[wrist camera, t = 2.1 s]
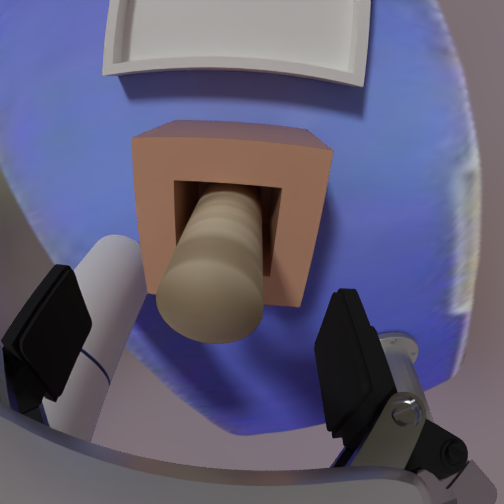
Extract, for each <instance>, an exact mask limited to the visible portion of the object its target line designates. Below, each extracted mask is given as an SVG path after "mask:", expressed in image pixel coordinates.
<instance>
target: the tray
mask: <svg viewBox="0 0 504 504" xmlns="http://www.w3.org/2000/svg"><path fill="white" fill-rule="evenodd" d="M370 5H371V0H110V4H109V11H108V18H107V25H106V34H105V44H104V56H103V73H102V76H121V75H129V74H138V73H148V72H161V71H180V70H228V71H247V72H260V73H271V74H280V75H288V76H295V77H302V78H309V79H315V80H320V81H326V82H331V83H336V84H340V85H345V86H349V87H363V85H364V77H365V69H366V59H367V49H368V37H369V24H370Z"/></svg>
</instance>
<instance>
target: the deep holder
mask: <svg viewBox="0 0 504 504" xmlns="http://www.w3.org/2000/svg"><path fill="white" fill-rule="evenodd" d="M132 156H133V175H134V190H135V202H136V212H137V222H138V231H139V239H140V247H141V254H142V261H143V267H144V274H145V280H146V286H147V291H148V293H149V294H156V293H157V289H158V286H159V284H160V282H161V279H162V277H163V275H164V273H165V270H166V268H167V266H168V264H169V262H170V259H171V257H172V255H173V253H174V251H175V249H176V246H177V244H178V242H179V240H180V238H181V236H182V234H183V232H184V230H185V227H186V225H187V223H188V221H189V219H190V217H191V215H192V213H193V211H194V209H195V207H196V205H197V203H198V201H199V199H200V197H201V195H202V193H203V191H204V189H205V188H206V186H207V184H208V182H218V183H232V184H245V185H257V186H261V204H262V252H263V305H275V306H291V307H300V305H301V301H302V297H303V293H304V289H305V285H306V281H307V277H308V273H309V269H310V265H311V260H312V256H313V252H314V247H315V243H316V238H317V234H318V229H319V224H320V219H321V215H322V210H323V205H324V200H325V195H326V189H327V184H328V179H329V173H330V168H331V162H332V156H333V150H332V149H331V148H330V147H328V146H327V145H326V144H325V143H323V142H322V141H321V140H320V139H319V138H317V137H316V136H315V135H314V134H312V133H311V132H310V131H309V130H307V129H300V128H293V127H285V126H276V125H266V124H256V123H243V122H227V121H200V120H174V121H171V122H169V123H166V124H164V125H161V126H159V127H156V128H154V129H151V130H149V131H147V132H144V133H142V134H140V135H137V136H135V137H133V138H132Z"/></svg>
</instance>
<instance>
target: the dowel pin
mask: <svg viewBox="0 0 504 504" xmlns="http://www.w3.org/2000/svg"><path fill="white" fill-rule="evenodd" d="M156 304H157V308H158V310H159V313H160V314H161V316H162V318H163V319H164V320H165V322H166V323H167V324H168V325H169V326H170V327H171V328H172V329H174V330H175V331H176V332H178V333H179V334H181V335H183V336H185V337H187V338H189V339H192V340H195V341H198V342H203V343H209V344H224V343H230V342H235V341H238V340H240V339H242V338H245V337H246V336H248V335H249V334H251V333H252V332H253V331H254V330H255V329H256V328H257V327H258V325H259V324H260V322H261V319H262V316H263V252H262V204H261V186H257V185H245V184H232V183H218V182H208V184H207V186H206V188H205V189H204V191H203V193H202V195H201V197H200V199H199V201H198V203H197V205H196V207H195V209H194V211H193V213H192V215H191V217H190V219H189V221H188V223H187V225H186V227H185V230H184V232H183V234H182V236H181V238H180V240H179V242H178V244H177V246H176V249H175V251H174V253H173V255H172V257H171V259H170V262H169V264H168V266H167V268H166V270H165V273H164V275H163V277H162V279H161V282H160V284H159V286H158V289H157V293H156Z"/></svg>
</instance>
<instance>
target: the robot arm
mask: <svg viewBox="0 0 504 504" xmlns="http://www.w3.org/2000/svg"><path fill="white" fill-rule="evenodd" d="M91 328H92V320H91V317H90V314H89V312H88V309H87V307H86V304H85V301H84V299H83V296H82V293H81V290H80V287H79V284H78V281H77V278H76V275H75V272H74V271H73V270H72V269H71V267H70V266H67V265H60V264H56V265H55V266H54V267H53V268H52V269H51V270H50V272H49V273H48V274H47V276H46V277H45V278H44V279H43V281H42V282H41V283H40V285H39V286H38V287H37V289H36V290H35V291H34V293H33V294H32V295H31V297H30V298H29V299H28V301H27V302H26V304H25V305H24V306H23V308H22V309H21V311H20V312H19V314H18V315H17V317H16V318H15V320H14V321H13V323H12V324H11V326H10V327H9V329H8V330H7V332H6V333H5V335H4V337H3V338H2V340H1V341H2V343H3V345H4V346H3V348H1V346H0V504H495V501H496V498H497V489H496V488H495V486H494V484H493V483H492V482H491V481H490V480H489V479H488V477H487V476H486V475H485V474H484V473H483V472H482V470H481V469H480V468H479V467H478V466H477V465H476V463H475V462H474V461H473V460H470V461H468V460H467V458H468V451H467V447H466V445H465V443H464V442H463V441H462V440H461V439H460V438H458V437H456V436H455V435H453V434H451V433H450V432H448V431H446V430H444V429H443V428H441V427H440V426H438V425H436V424H435V423H434V421H433V418H432V415H431V412H430V409H429V406H428V404H427V401H426V398H425V395H424V392H423V389H422V386H421V384H420V381H419V378H418V376H417V373H416V371H415V368H414V365H413V364H414V362H415V361H416V359H417V356H418V351H419V349H418V345H417V343H416V341H415V339H414V338H413V337H412V336H411V335H408V334H406V333H401V332H388V333H382V334H377V331H376V330H375V328H374V327H373V326H370V323H369V321H368V318H367V315H366V313H365V310H364V308H363V305H362V303H361V300H360V298H359V295H358V293H357V291H356V290H355V289H342V288H340V289H339V290H338V291H337V292H334V293H333V294H332V297H331V300H330V302H329V305H328V308H327V311H326V314H325V317H324V320H323V322H322V325H321V328H320V331H319V333H318V336H317V339H316V341H315V347H314V351H315V357H316V363H317V369H318V375H319V381H320V387H321V394H322V400H323V407H324V413H325V420H326V427H327V430H328V431H329V432H330V431H332V437H333V438H339V437H342V439H343V445H344V446H345V447H344V448H343V450H342V451H341V453H340V454H339V455H338V457H337V458H336V459H335V461H334V462H333V464H332V465H331V466H330V468H322V469H310V470H289V471H288V470H286V471H251V470H250V471H249V470H229V469H228V470H227V469H215V468H206V467H197V466H190V465H182V464H176V463H169V462H164V461H159V460H154V459H149V458H144V457H140V456H136V455H132V454H128V453H124V452H120V451H116V450H113V449H110V448H106V447H103V446H100V445H96V444H93V443H90V442H87V441H85V440H82V439H79V438H76V437H73V436H71V435H68V434H66V433H63V432H60V431H58V430H56V429H53V428H51V427H50V426H49V423H48V419H47V416H46V413H45V410H44V406H43V403H42V400H43V397H45V398H46V399H48V400H51V401H53V402H57V399H58V397H60V396H61V395H62V393H63V391H64V388H65V386H66V384H67V381H68V379H69V376H70V374H71V372H72V369H73V367H74V365H75V363H76V360H77V358H78V356H79V354H80V352H81V350H82V347H83V345H84V343H85V341H86V339H87V337H88V335H89V333H90V331H91Z"/></svg>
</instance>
